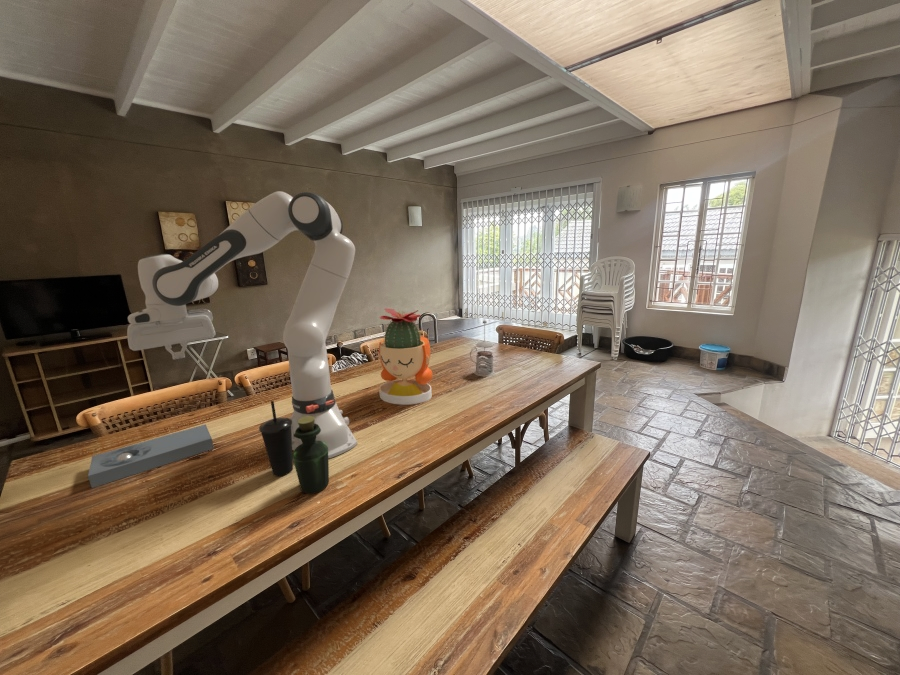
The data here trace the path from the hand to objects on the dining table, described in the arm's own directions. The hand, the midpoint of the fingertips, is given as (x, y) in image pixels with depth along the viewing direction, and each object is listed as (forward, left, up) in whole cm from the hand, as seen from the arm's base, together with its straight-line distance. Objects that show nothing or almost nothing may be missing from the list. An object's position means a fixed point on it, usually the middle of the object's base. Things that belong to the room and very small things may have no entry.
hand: (179, 358), depth 104 cm
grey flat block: (-5, +10, -27) cm, 29 cm away
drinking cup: (-37, -15, -27) cm, 48 cm away
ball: (-5, +17, -25) cm, 30 cm away
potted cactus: (-17, -69, -27) cm, 76 cm away
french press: (-22, -108, -27) cm, 113 cm away
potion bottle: (-49, -19, -27) cm, 59 cm away
